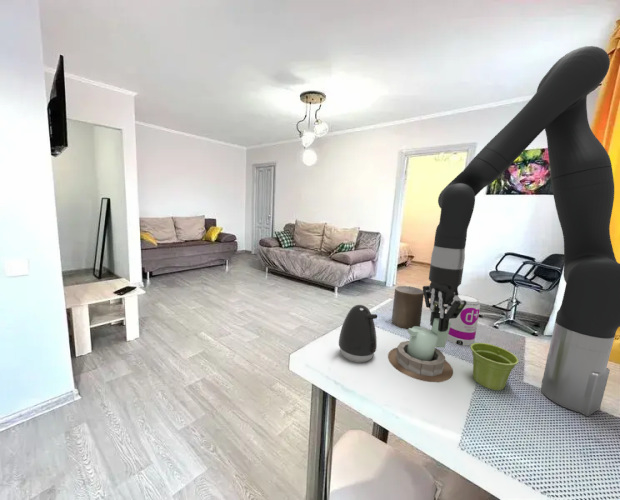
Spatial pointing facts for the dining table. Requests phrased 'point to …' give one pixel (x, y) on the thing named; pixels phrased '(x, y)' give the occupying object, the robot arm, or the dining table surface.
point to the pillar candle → (407, 307)
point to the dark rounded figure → (358, 335)
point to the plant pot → (492, 365)
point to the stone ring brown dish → (420, 365)
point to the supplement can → (465, 322)
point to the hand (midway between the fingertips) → (438, 328)
